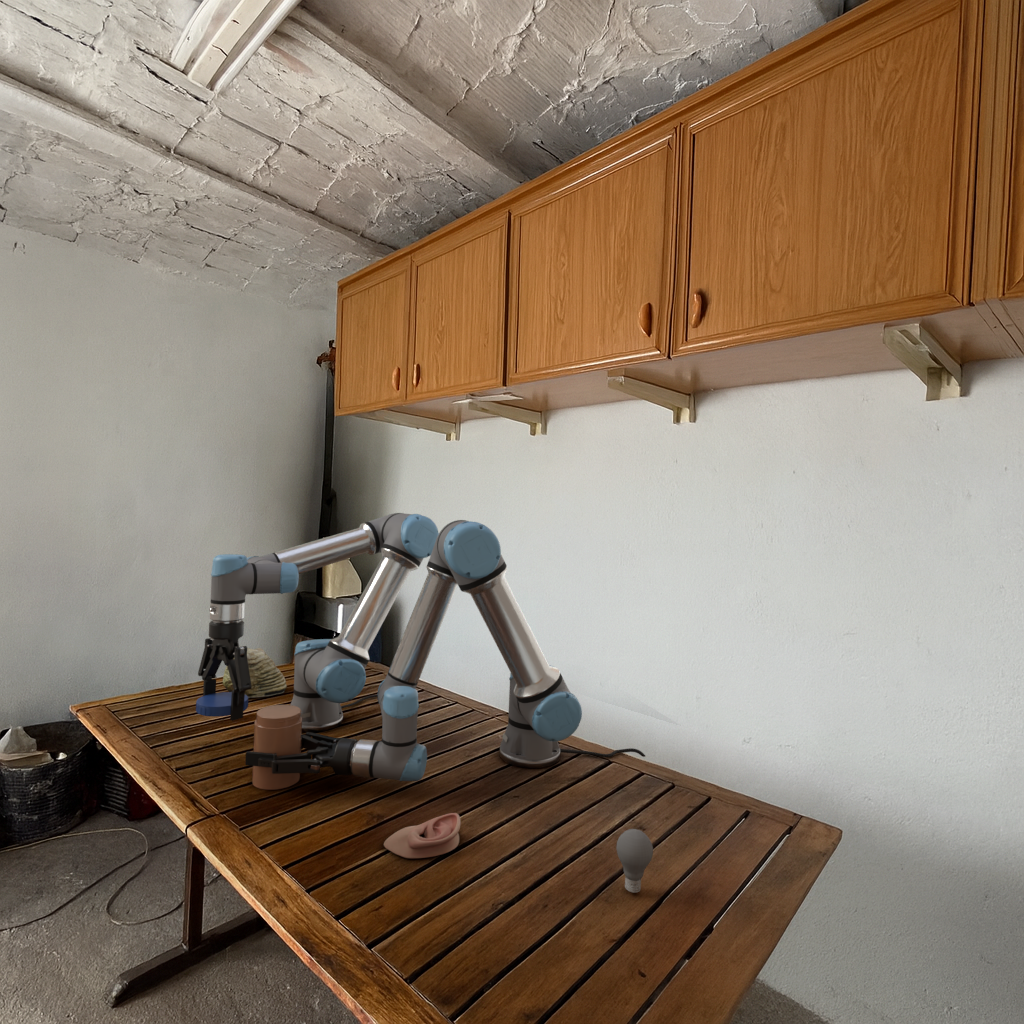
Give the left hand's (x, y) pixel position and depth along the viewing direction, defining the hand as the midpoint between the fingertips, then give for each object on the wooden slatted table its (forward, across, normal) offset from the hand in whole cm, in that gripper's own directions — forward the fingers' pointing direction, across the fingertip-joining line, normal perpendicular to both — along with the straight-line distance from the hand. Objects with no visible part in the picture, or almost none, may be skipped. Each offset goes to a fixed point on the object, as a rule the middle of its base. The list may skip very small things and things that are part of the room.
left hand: (222, 713), depth 149 cm
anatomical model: (+11, +61, +4) cm, 62 cm away
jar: (+11, +18, +2) cm, 22 cm away
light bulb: (+11, +98, +15) cm, 100 cm away
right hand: (+5, +15, 0) cm, 15 cm away
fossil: (+11, -38, +33) cm, 51 cm away
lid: (-3, 0, 0) cm, 3 cm away
